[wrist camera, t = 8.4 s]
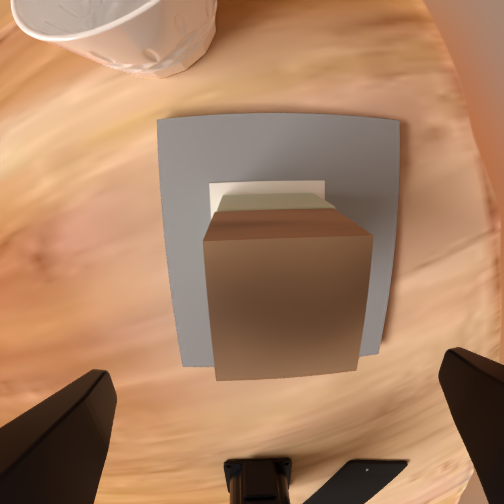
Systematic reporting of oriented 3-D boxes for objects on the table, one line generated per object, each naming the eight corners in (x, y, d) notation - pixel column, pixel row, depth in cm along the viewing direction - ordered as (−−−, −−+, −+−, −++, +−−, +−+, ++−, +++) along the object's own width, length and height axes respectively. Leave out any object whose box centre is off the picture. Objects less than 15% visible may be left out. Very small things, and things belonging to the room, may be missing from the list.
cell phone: (276, 522, 32) (277, 527, 31) (349, 456, 27) (351, 462, 27) (330, 523, 34) (331, 528, 33) (407, 458, 29) (410, 463, 28)
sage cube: (310, 276, 19) (329, 311, 15) (227, 279, 19) (223, 317, 15) (312, 192, 18) (335, 206, 13) (222, 195, 18) (216, 209, 13)
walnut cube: (327, 313, 15) (356, 370, 11) (221, 318, 15) (216, 380, 11) (333, 208, 13) (373, 235, 9) (214, 211, 13) (202, 241, 9)
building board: (373, 346, 22) (378, 354, 21) (184, 358, 22) (182, 367, 21) (392, 121, 18) (400, 120, 16) (161, 121, 17) (156, 119, 16)
